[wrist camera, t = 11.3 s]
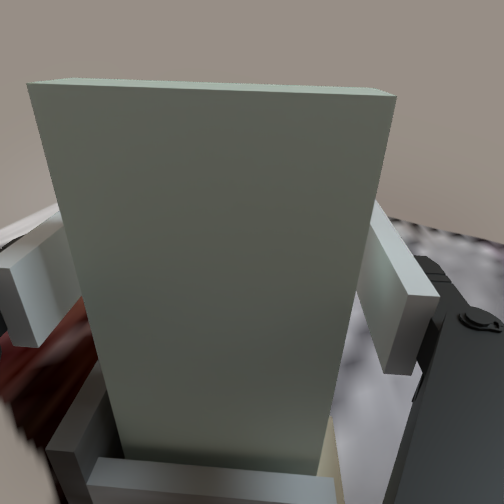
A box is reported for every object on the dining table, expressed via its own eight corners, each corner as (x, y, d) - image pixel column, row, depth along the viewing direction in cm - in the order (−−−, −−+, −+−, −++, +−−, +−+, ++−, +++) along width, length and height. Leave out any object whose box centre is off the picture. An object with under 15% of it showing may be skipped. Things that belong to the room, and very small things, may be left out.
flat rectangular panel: (306, 432, 18) (365, 85, 10) (311, 496, 15) (396, 96, 7) (152, 420, 18) (89, 75, 10) (131, 481, 16) (26, 83, 8)
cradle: (328, 433, 19) (347, 348, 16) (346, 573, 14) (380, 487, 11) (133, 417, 20) (115, 331, 17) (81, 547, 15) (40, 457, 11)
